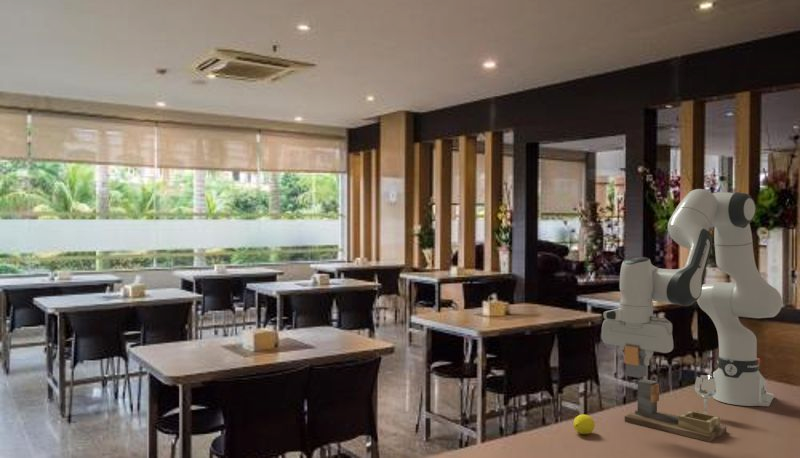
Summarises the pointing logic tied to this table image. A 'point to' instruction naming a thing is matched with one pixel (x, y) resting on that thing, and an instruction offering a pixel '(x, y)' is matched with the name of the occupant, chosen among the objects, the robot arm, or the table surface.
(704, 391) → the wineglass
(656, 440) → the table surface
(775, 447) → the table surface
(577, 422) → the lemon
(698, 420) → the rail
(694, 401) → the table surface
